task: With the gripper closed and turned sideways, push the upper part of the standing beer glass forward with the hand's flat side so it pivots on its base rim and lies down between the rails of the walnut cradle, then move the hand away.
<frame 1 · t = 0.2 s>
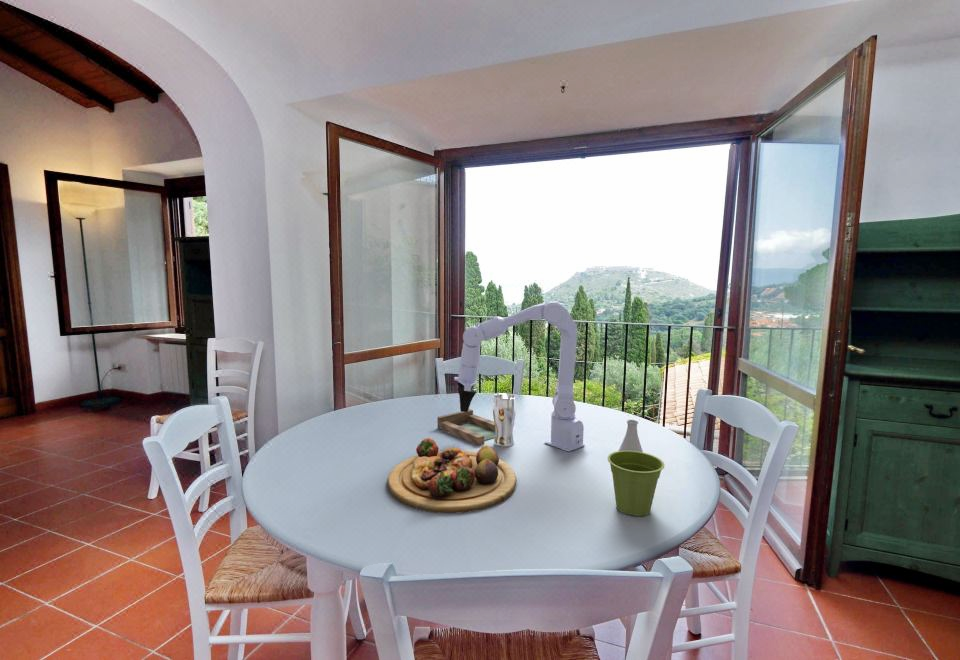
hand: (463, 407, 145), 10 cm above the table, tool pointing down, fingers open, 7 cm apart
beer glass: (503, 444, 144), on the table
cradle: (475, 432, 154), on the table
flask: (630, 455, 136), on the table
plant pot: (633, 510, 103), on the table
wooden plate with food: (452, 483, 117), on the table
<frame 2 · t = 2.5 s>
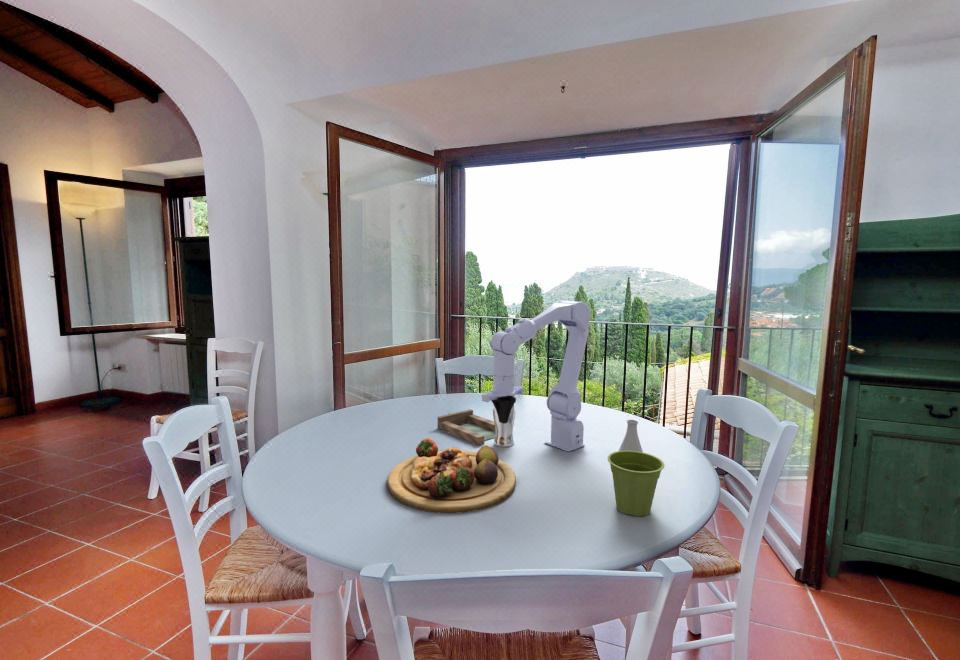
hand: (503, 422, 131), 10 cm above the table, tool pointing down, fingers closed
nothing on the table moved.
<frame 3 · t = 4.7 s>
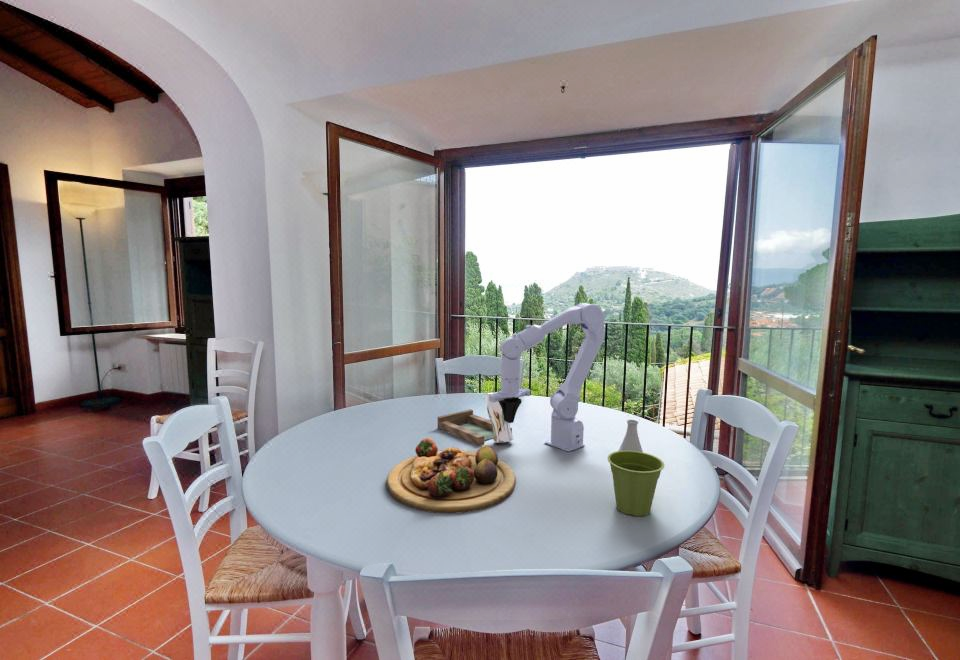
hand: (509, 422, 141), 7 cm above the table, tool pointing down, fingers closed
beer glass: (503, 441, 144), point 1 cm above the table, touching gripper
everything else where it was.
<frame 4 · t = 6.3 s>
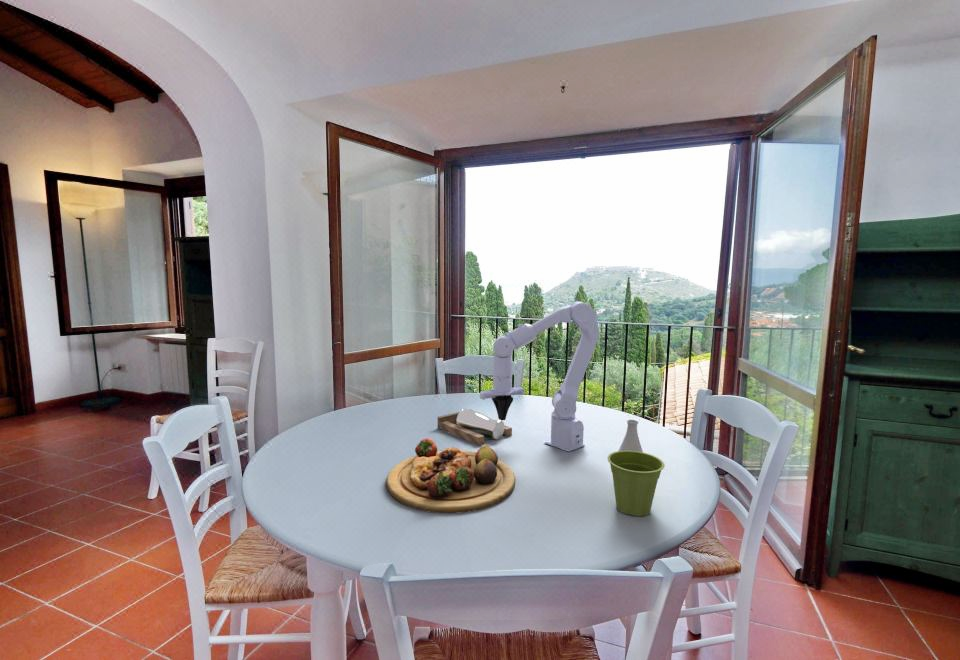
hand: (501, 419, 144), 7 cm above the table, tool pointing down, fingers closed
beer glass: (499, 430, 147), point 3 cm above the table, touching cradle
everything else where it was.
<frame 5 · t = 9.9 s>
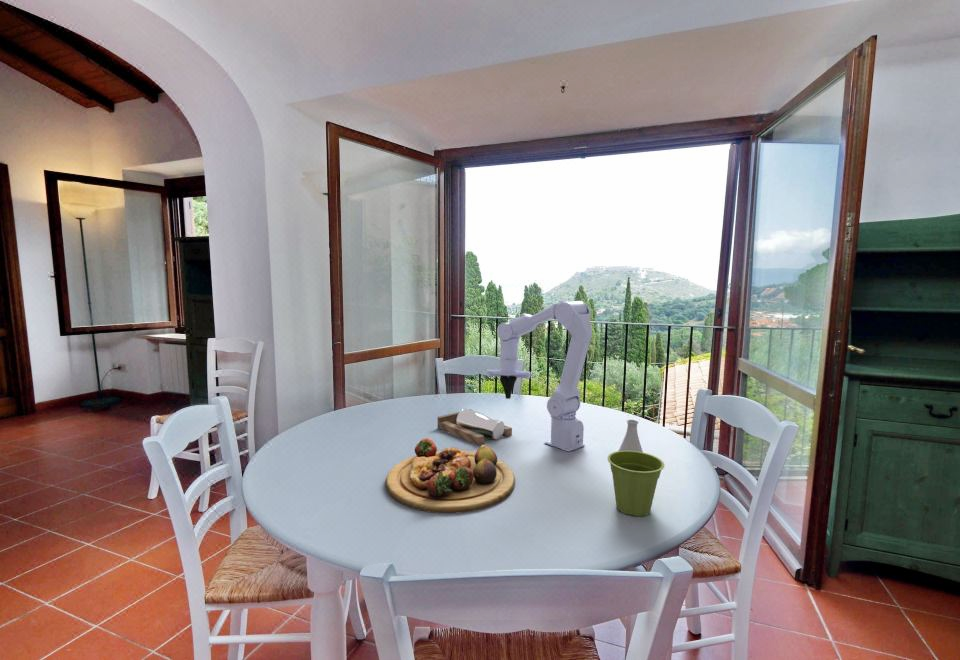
hand: (508, 398, 157), 10 cm above the table, tool pointing down, fingers closed
nothing on the table moved.
at the end: beer glass tilted 86°; beer glass inside the target area (9.7 cm from its centre), point 3.0 cm above the table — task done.
